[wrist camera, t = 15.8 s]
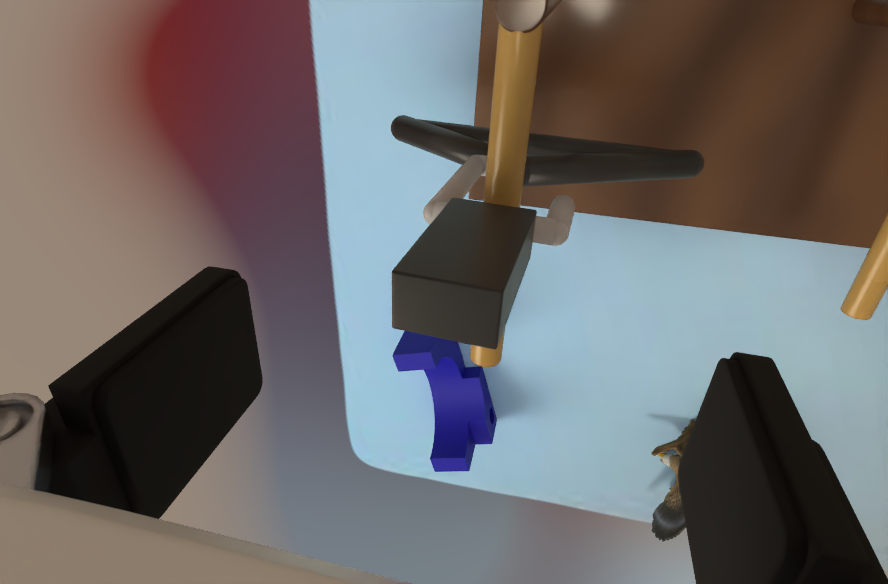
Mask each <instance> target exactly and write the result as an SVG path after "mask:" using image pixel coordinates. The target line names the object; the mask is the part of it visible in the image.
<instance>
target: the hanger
mask: <svg viewBox="0 0 888 584" xmlns="http://www.w3.org/2000/svg"><path fill="white" fill-rule="evenodd" d="M391 132H392V134H393V136H394V137H395V138H396V139H397V140H399V141H402V142H404V143H407V144H410V145H412V146H415V147H417V148H420V149H423V150H425V151H428V152H430V153H433V154H436V155H438V156H441V157H444V158H446V159H449V160H451V161H454V162H457V163H459V164H462V166H461V167H460V168H459V169H458V171H457V172H456V173H455V174H454V175H453V176H452V177H451V178H450V179H449V181H448V182H447V183H446V184H445V185H444V186H443V187H442V188H441V189H440V191H439V192H438V193H437V194H436V195H435V196H434V197H433V198H432V199H431V201H430V202H429V203H428V204H427V205H426V206H425V208H424V212H423V215H424V219H425V220H426V222H427V223H429V224H430V225H429V226H428V228H427V229H426V230H425V231H424V233H423V234H422V235H421V236H420V238H419V239H418V240H417V241H416V242H415V244H414V245H413V246H412V247H411V249H410V250H409V251H408V252H407V253H406V255H405V256H404V257H403V258H402V260H401V261H400V262H399V263H398V264H397V266H396V267H395V268H394V269H393V271H392V327H393V328H395V329H400V330H405V331H409V332H414V333H419V334H423V335H428V336H433V337H437V338H442V339H447V340H451V341H456V342H461V343H465V344H470V345H475V346H479V347H484V348H489V349H493V350H496V349H497V347H498V345H499V342H500V339H501V336H502V334H503V331H504V328H505V325H506V323H507V320H508V317H509V314H510V312H511V309H512V306H513V303H514V301H515V298H516V295H517V292H518V290H519V287H520V284H521V281H522V278H523V276H524V273H525V270H526V267H527V265H528V262H529V259H530V255H531V248H532V242H535V243H541V244H547V245H553V246H557V245H561V244H562V243H564V242H565V241H566V240H567V238H568V235H569V231H570V227H571V223H572V219H573V215H574V211H575V203H574V201H573V199H572V198H571V197H569V196H567V195H560V196H557V197H556V198H555V199H554V200H553V201H552V204H551V206H550V209H549V212H548V215H547V218H546V217H539V216H536V213H537V212H536V210H532V209H525V208H518V207H512V206H505V205H499V204H492V203H486V202H479V201H472V200H466V199H463V198H464V197H465V195H466V194H467V193H468V191H469V190H470V189H471V187H472V186H473V185H474V184H475V182H476V181H477V180H478V178H479V177H480V176H486V166H487V155H488V143H489V132H490V128H487V127H478V126H470V125H462V124H453V123H445V122H437V121H428V120H420V119H414V118H411V117H408V116H404V115H402V116H398V117H396V118H395V119H394V120H393V122H392V124H391ZM703 167H704V158H703V156H702V154H701V153H699V152H698V151H696V150H671V149H662V148H654V147H646V146H637V145H629V144H621V143H612V142H604V141H595V140H587V139H579V138H570V137H562V136H554V135H545V134H537V133H529V141H528V149H527V157H526V165H525V173H524V181H523V187H527V186H547V185H567V184H586V183H606V182H625V181H645V180H664V179H684V178H692V177H695V176H697V175H698V174H699V173H700V172H701V171H702V169H703Z"/></svg>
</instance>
